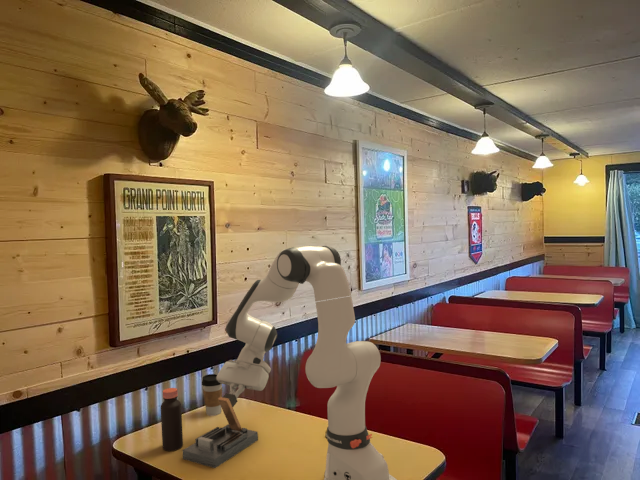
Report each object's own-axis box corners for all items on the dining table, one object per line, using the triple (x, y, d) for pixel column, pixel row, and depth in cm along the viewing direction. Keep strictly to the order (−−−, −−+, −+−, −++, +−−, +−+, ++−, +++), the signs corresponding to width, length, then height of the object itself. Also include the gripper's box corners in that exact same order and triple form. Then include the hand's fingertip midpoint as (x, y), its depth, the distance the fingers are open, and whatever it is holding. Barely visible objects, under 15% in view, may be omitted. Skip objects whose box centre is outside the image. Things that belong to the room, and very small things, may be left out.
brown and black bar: (238, 421, 177) (224, 390, 171) (247, 423, 174) (233, 392, 169) (231, 430, 173) (217, 399, 167) (240, 432, 171) (226, 401, 165)
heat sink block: (227, 432, 179) (226, 415, 179) (257, 440, 172) (257, 421, 172) (182, 459, 160) (181, 439, 160) (215, 468, 153) (214, 447, 153)
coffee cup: (214, 407, 205) (212, 372, 204) (228, 411, 200) (226, 375, 199) (198, 414, 198) (197, 377, 197) (213, 418, 193) (211, 381, 192)
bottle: (170, 441, 173) (168, 386, 173) (187, 443, 171) (184, 387, 170) (158, 450, 167) (155, 392, 166) (175, 452, 165) (172, 394, 164)
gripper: (223, 355, 182) (205, 389, 174) (267, 361, 172) (250, 397, 164) (231, 363, 186) (215, 397, 178) (274, 370, 176) (259, 406, 168)
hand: (232, 397), depth 171 cm, fingers closed, pressing on brown and black bar
